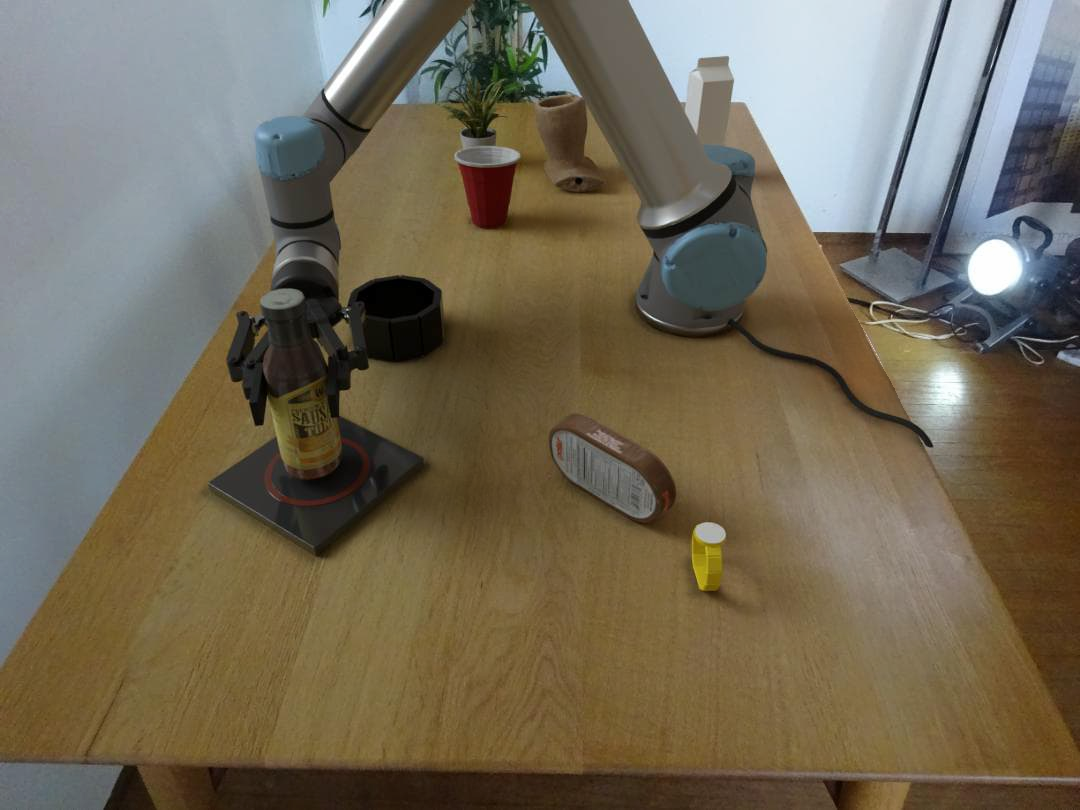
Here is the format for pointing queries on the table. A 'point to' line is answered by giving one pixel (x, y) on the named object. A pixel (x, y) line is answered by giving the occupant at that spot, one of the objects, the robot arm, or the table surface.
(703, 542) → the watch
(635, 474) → the tin
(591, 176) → the clay boot vase
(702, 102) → the milk
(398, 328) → the bottle holder
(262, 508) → the hob plate
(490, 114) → the house plant
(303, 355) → the sauce bottle
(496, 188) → the plastic cup
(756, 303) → the table surface
